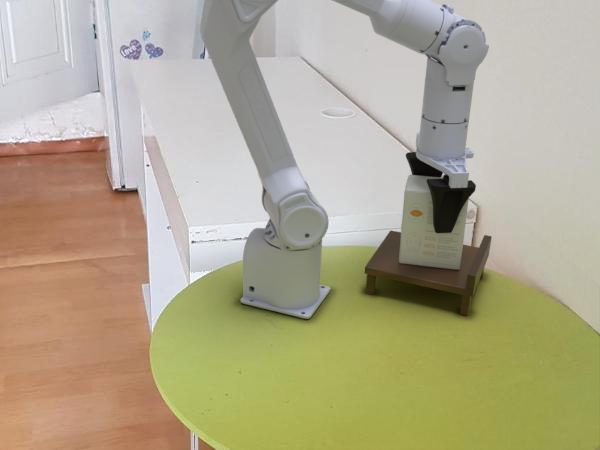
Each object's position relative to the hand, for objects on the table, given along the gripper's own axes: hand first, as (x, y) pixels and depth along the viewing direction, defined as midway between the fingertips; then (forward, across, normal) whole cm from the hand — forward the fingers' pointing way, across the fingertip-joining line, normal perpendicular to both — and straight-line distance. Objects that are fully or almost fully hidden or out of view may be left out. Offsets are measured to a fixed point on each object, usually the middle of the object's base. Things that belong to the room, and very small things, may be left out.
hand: (433, 218), depth 97 cm
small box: (+6, 0, 0) cm, 6 cm away
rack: (+10, 0, 0) cm, 10 cm away
